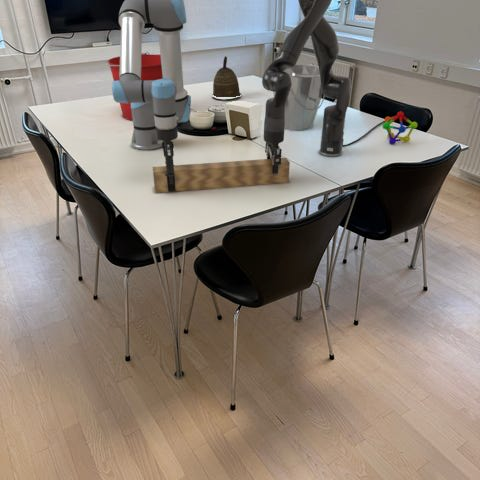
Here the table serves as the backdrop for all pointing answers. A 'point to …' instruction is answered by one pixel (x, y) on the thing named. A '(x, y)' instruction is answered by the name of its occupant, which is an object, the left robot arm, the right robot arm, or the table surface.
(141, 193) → the table surface
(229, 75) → the bell
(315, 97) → the bucket
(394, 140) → the educational toy
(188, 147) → the table surface
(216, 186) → the beam
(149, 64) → the bucket
